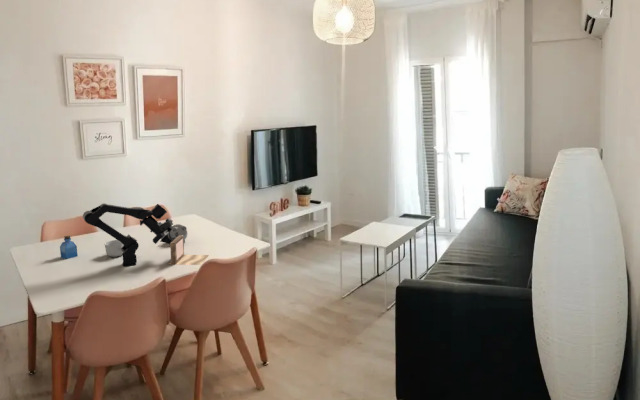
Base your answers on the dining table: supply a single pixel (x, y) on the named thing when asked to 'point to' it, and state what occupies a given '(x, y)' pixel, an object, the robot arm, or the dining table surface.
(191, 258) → the light tan wooden board
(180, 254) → the brown wooden slab
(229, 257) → the dining table surface
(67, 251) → the perfume bottle
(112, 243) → the teacup
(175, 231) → the piggy bank
